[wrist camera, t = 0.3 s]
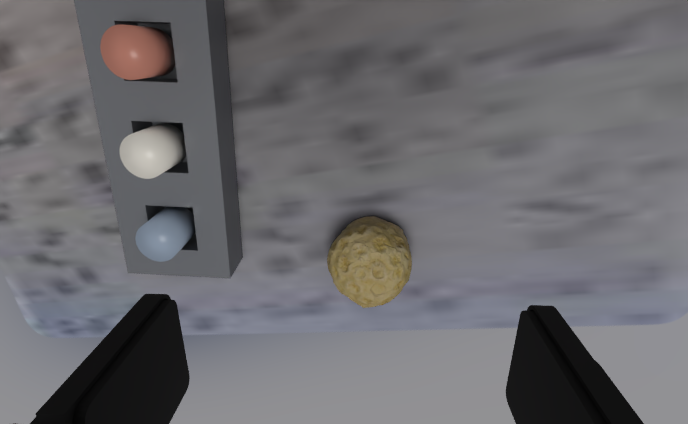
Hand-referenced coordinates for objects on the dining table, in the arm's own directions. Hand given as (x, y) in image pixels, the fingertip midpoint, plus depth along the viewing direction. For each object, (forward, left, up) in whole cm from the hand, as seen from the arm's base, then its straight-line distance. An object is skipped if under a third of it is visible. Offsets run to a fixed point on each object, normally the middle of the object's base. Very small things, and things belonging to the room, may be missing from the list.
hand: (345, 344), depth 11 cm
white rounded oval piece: (+3, -20, -32) cm, 38 cm away
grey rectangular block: (+3, -20, -36) cm, 41 cm away
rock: (+16, +2, -36) cm, 39 cm away
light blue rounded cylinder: (+12, -20, -32) cm, 40 cm away
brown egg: (-6, -20, -32) cm, 38 cm away
